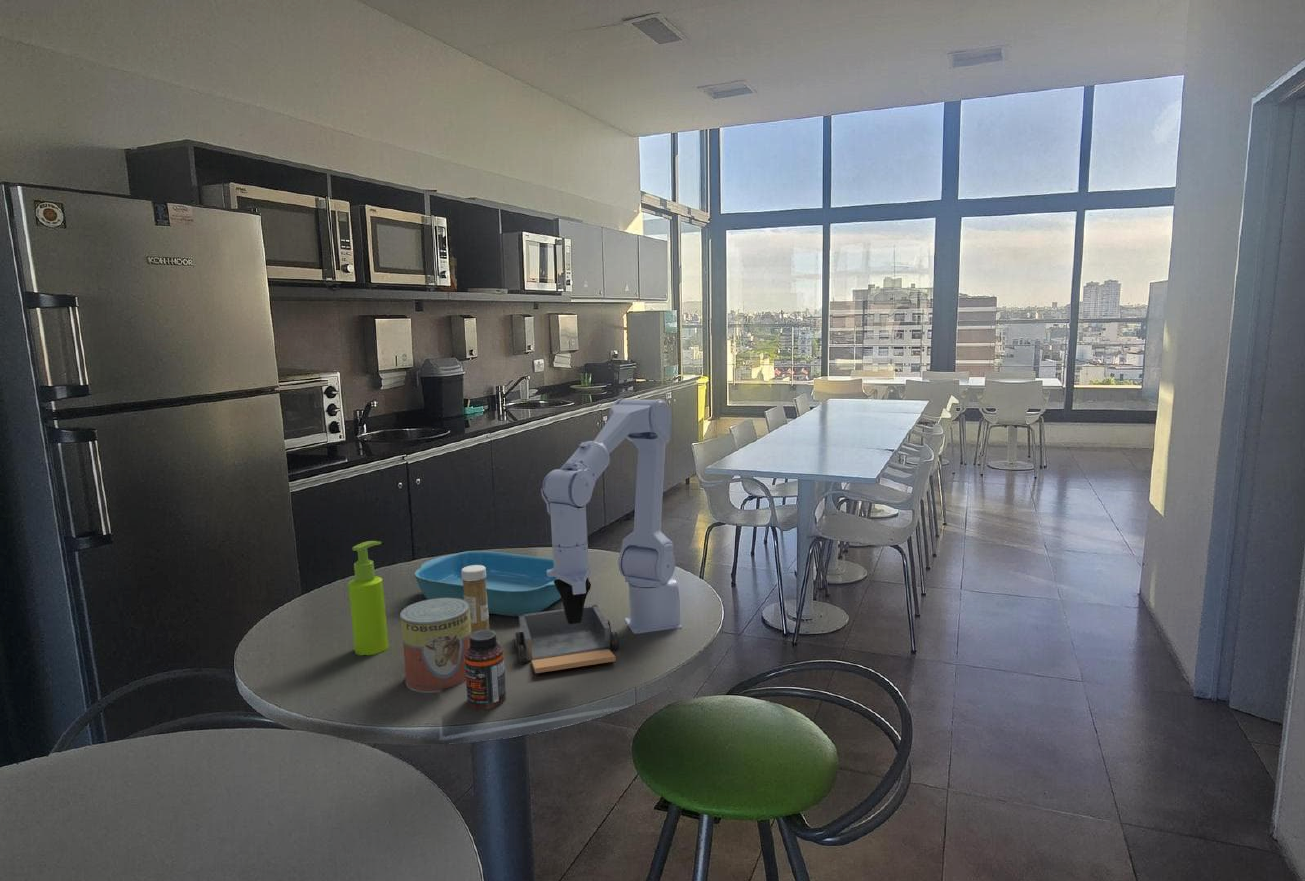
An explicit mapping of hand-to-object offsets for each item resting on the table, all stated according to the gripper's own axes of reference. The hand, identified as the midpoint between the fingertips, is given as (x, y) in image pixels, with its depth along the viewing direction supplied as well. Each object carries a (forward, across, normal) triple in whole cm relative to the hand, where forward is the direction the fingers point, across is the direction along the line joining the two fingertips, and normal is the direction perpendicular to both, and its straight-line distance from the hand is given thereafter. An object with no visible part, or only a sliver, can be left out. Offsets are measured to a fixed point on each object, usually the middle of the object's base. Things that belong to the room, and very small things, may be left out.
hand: (574, 622), depth 125 cm
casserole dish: (+10, -44, -10) cm, 46 cm away
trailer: (+9, -14, 0) cm, 16 cm away
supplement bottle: (+10, +4, -15) cm, 18 cm away
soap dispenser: (+10, -24, -34) cm, 43 cm away
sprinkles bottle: (+10, -24, -15) cm, 29 cm away
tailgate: (+9, -7, 0) cm, 11 cm away
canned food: (+10, -8, -22) cm, 25 cm away
